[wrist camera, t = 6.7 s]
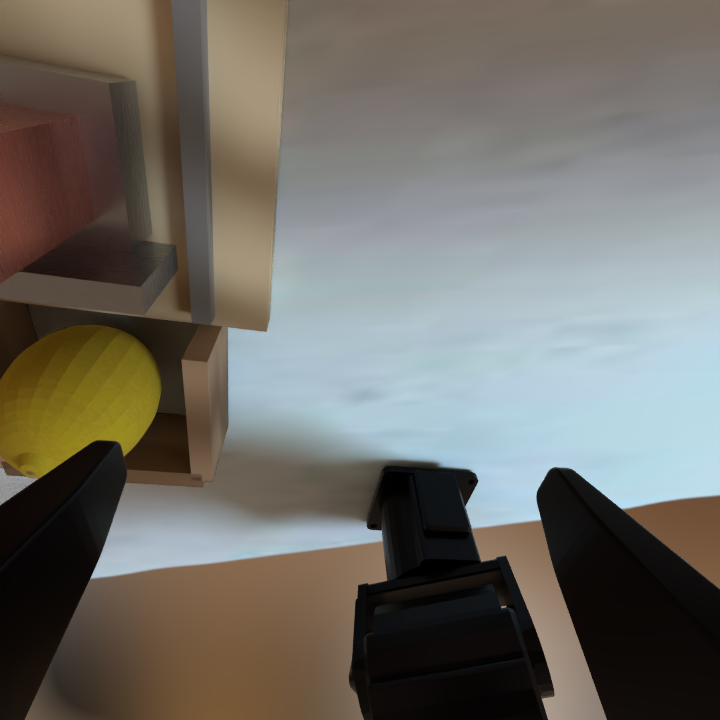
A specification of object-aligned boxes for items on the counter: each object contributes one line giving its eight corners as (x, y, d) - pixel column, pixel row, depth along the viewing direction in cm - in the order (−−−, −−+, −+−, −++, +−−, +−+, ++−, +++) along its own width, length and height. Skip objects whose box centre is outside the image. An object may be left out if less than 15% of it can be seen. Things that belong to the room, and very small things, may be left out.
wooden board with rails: (269, 318, 20) (264, 341, 19) (-55, 279, 18) (-92, 300, 17) (296, -137, 12) (291, -168, 10) (-303, -306, 10) (-430, -380, 8)
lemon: (43, 346, 21) (-90, 478, 14) (95, 270, 18) (-33, 384, 12) (147, 403, 23) (75, 538, 16) (204, 342, 21) (147, 468, 14)
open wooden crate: (228, 431, 25) (212, 487, 21) (42, 416, 23) (-5, 474, 20) (227, 313, 20) (207, 362, 17) (-4, 285, 19) (-75, 332, 15)
